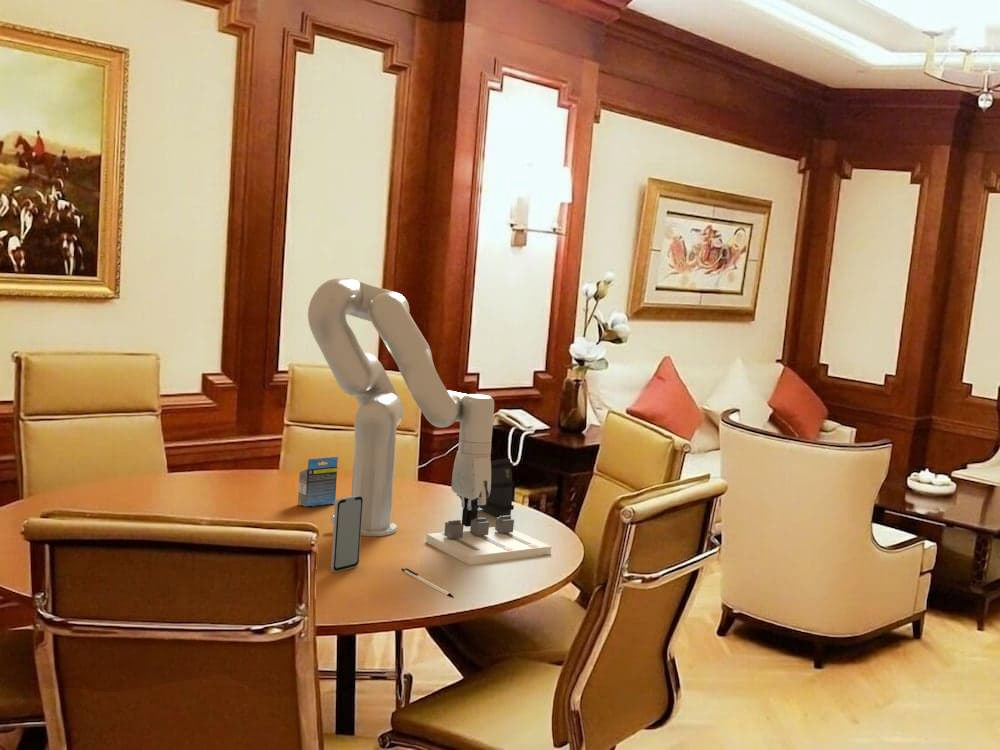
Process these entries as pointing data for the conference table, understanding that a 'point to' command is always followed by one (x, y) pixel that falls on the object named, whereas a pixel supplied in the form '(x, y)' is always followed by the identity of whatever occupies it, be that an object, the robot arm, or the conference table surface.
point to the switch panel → (488, 546)
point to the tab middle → (479, 526)
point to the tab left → (454, 529)
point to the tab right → (504, 524)
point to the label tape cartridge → (318, 482)
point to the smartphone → (346, 533)
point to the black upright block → (500, 489)
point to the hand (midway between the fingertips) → (469, 525)
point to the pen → (426, 582)
